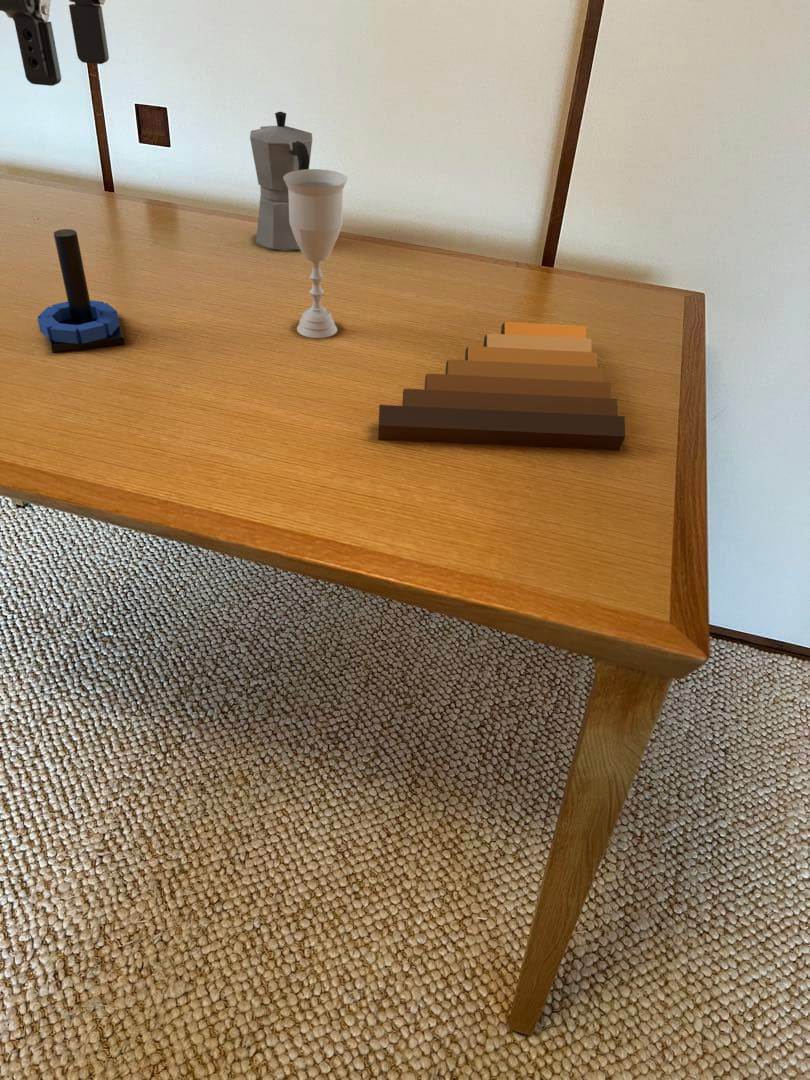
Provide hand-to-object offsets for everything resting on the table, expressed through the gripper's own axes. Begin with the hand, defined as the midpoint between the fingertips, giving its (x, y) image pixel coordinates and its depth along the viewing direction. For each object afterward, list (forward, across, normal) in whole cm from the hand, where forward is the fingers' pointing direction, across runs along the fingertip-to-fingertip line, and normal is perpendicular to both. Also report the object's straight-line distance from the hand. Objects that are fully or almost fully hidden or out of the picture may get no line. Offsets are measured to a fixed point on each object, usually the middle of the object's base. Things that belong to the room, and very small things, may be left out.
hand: (70, 72), depth 59 cm
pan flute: (+32, -19, +34) cm, 51 cm away
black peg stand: (+32, -22, -14) cm, 41 cm away
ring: (+31, -22, -14) cm, 40 cm away
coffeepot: (+32, -58, +2) cm, 67 cm away
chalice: (+32, -30, +12) cm, 45 cm away
